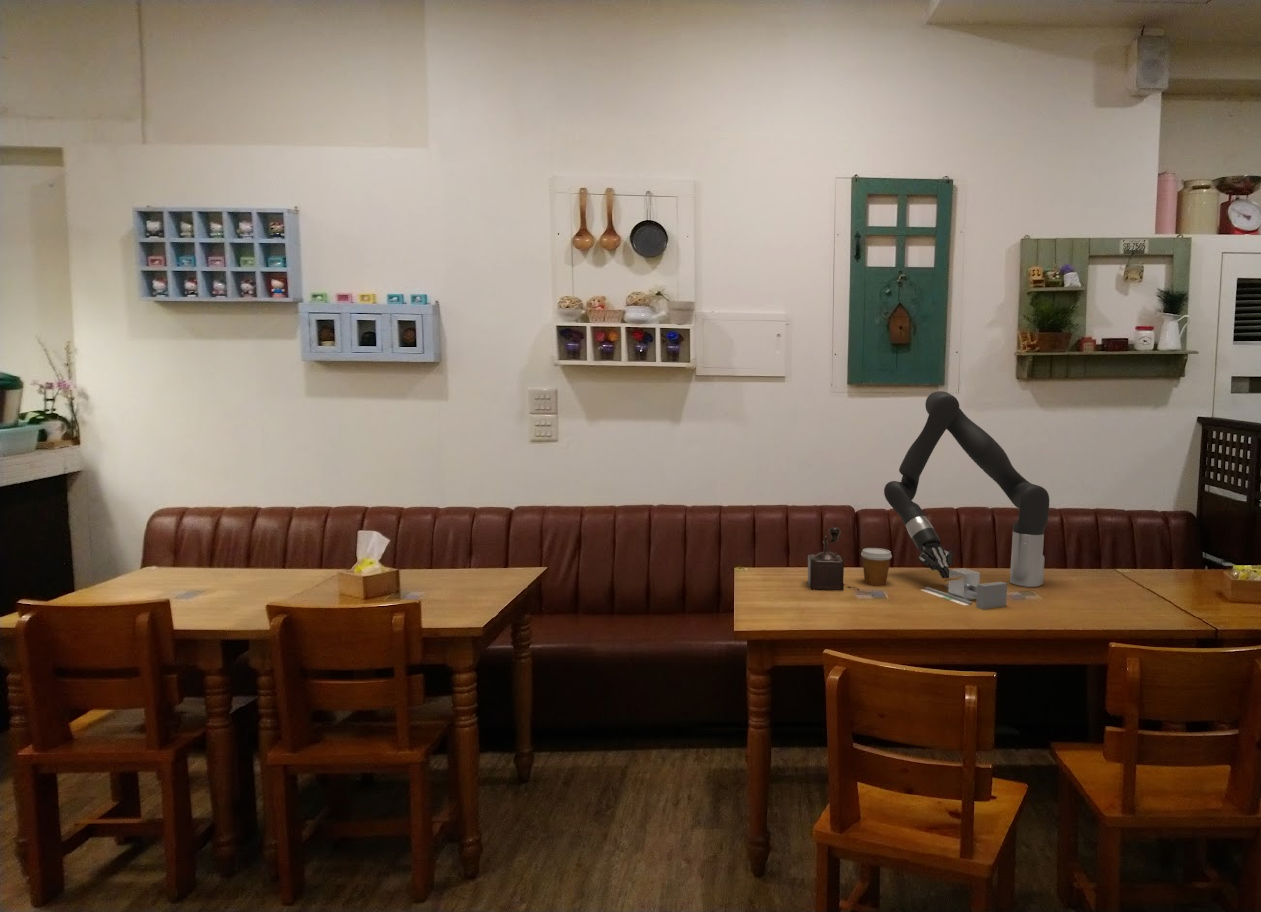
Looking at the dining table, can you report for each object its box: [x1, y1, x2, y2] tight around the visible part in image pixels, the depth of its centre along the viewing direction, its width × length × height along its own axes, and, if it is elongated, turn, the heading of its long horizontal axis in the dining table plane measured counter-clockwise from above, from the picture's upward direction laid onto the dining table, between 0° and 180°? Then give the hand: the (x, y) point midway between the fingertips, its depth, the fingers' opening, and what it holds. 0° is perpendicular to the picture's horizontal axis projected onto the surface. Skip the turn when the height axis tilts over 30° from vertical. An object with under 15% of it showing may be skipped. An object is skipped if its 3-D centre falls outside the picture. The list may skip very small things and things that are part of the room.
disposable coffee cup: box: [860, 547, 893, 586], centre depth 258 cm, size 10×10×12 cm
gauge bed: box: [921, 581, 1008, 610], centre depth 242 cm, size 14×24×8 cm, turn 23°
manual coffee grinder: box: [807, 526, 845, 591], centre depth 261 cm, size 16×11×18 cm
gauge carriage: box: [942, 567, 981, 601], centre depth 239 cm, size 11×11×8 cm
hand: (949, 579), depth 247 cm, fingers closed
